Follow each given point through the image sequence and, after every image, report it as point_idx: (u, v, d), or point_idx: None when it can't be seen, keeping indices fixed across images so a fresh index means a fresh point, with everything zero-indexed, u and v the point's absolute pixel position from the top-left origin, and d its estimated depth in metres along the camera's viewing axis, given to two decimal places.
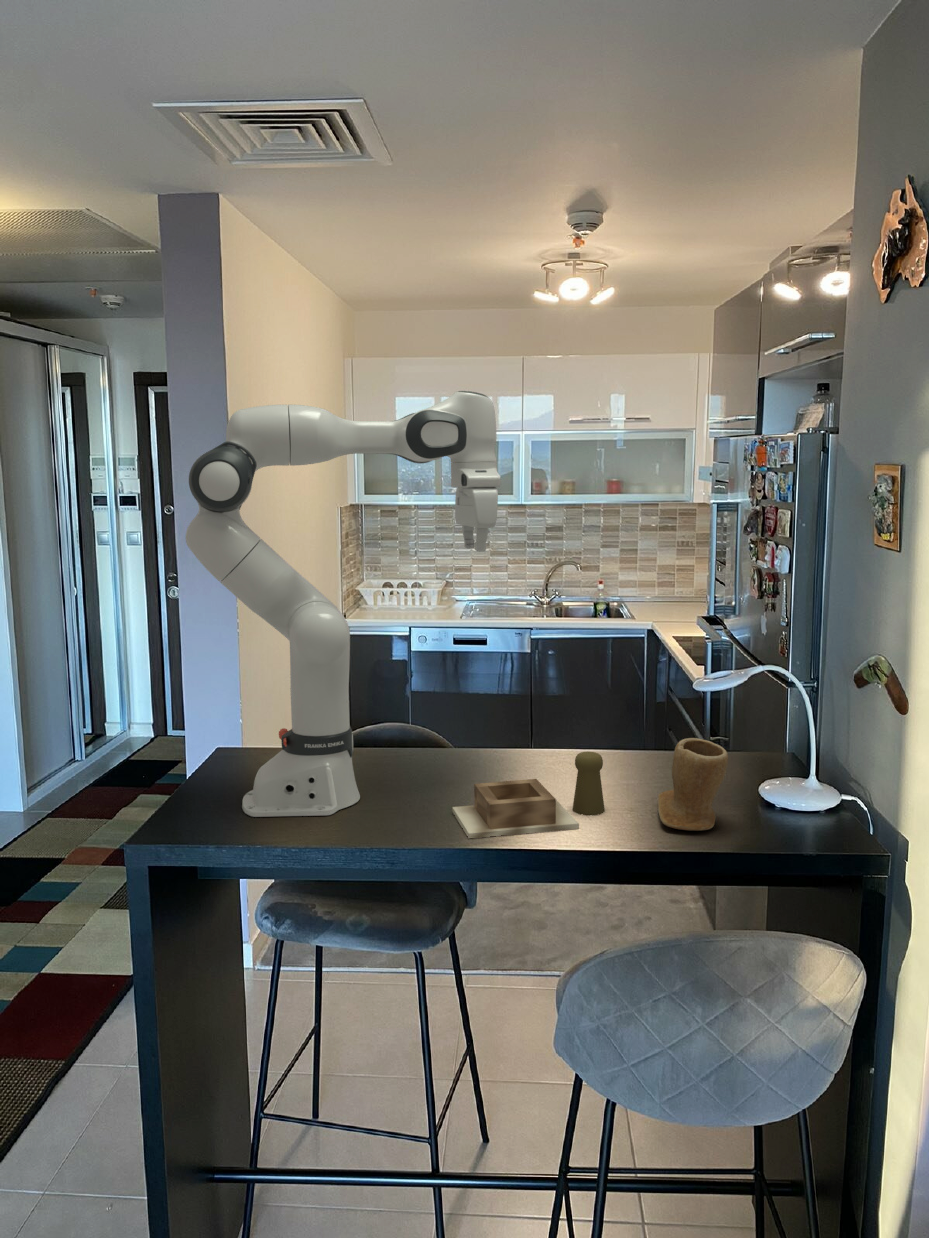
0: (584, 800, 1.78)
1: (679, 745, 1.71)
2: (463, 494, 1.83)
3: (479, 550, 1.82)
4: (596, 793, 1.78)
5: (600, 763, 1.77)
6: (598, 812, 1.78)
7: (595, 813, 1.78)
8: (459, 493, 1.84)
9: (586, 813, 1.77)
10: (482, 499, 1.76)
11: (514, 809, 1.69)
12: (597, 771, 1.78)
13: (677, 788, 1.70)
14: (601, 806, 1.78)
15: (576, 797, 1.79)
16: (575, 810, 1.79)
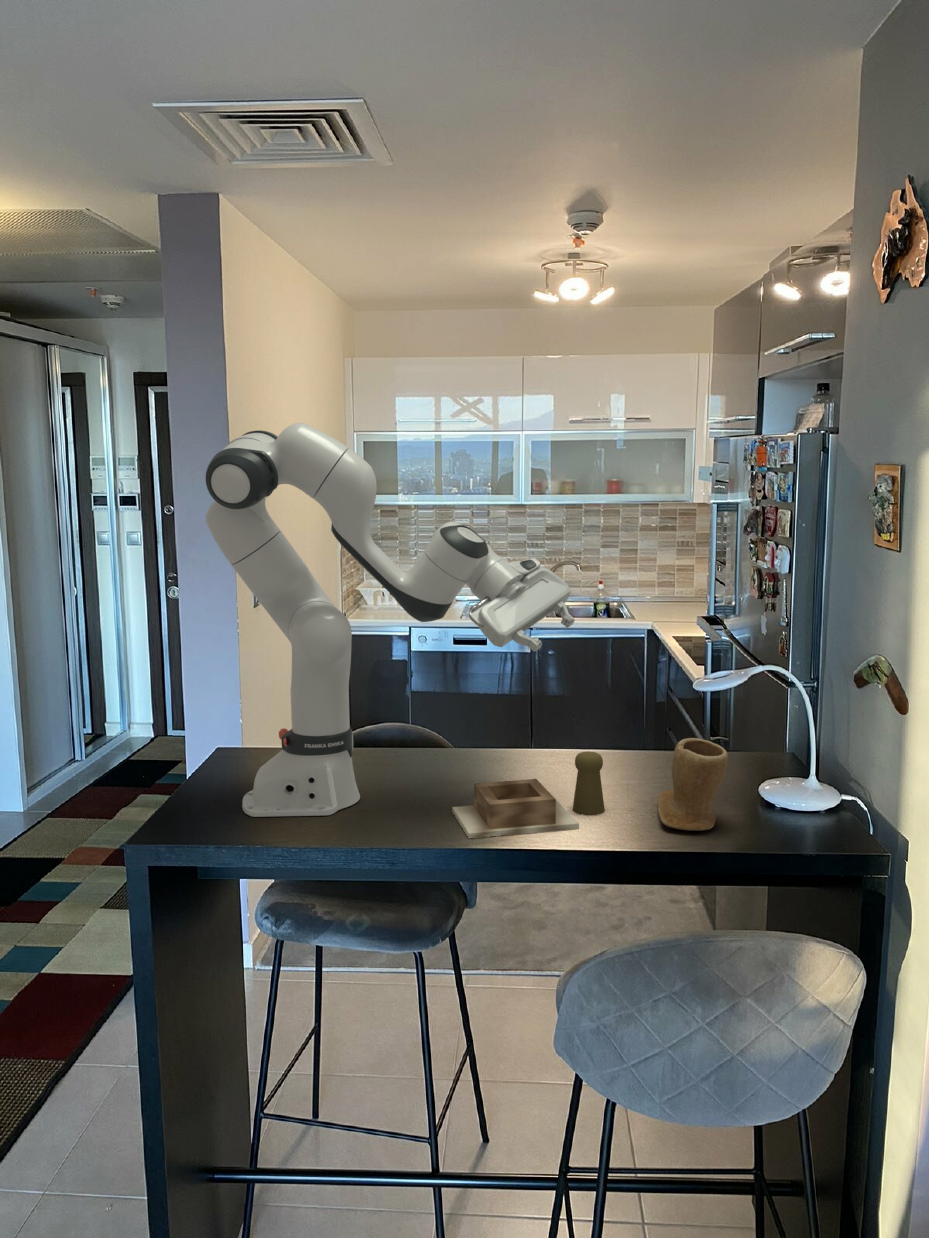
0: (584, 800, 1.78)
1: (679, 745, 1.71)
2: (523, 584, 1.78)
3: None
4: (596, 793, 1.78)
5: (600, 763, 1.77)
6: (598, 812, 1.78)
7: (595, 813, 1.78)
8: (519, 585, 1.77)
9: (586, 813, 1.77)
10: None
11: (514, 809, 1.69)
12: (597, 771, 1.78)
13: (677, 788, 1.70)
14: (601, 806, 1.78)
15: (576, 797, 1.79)
16: (575, 810, 1.79)
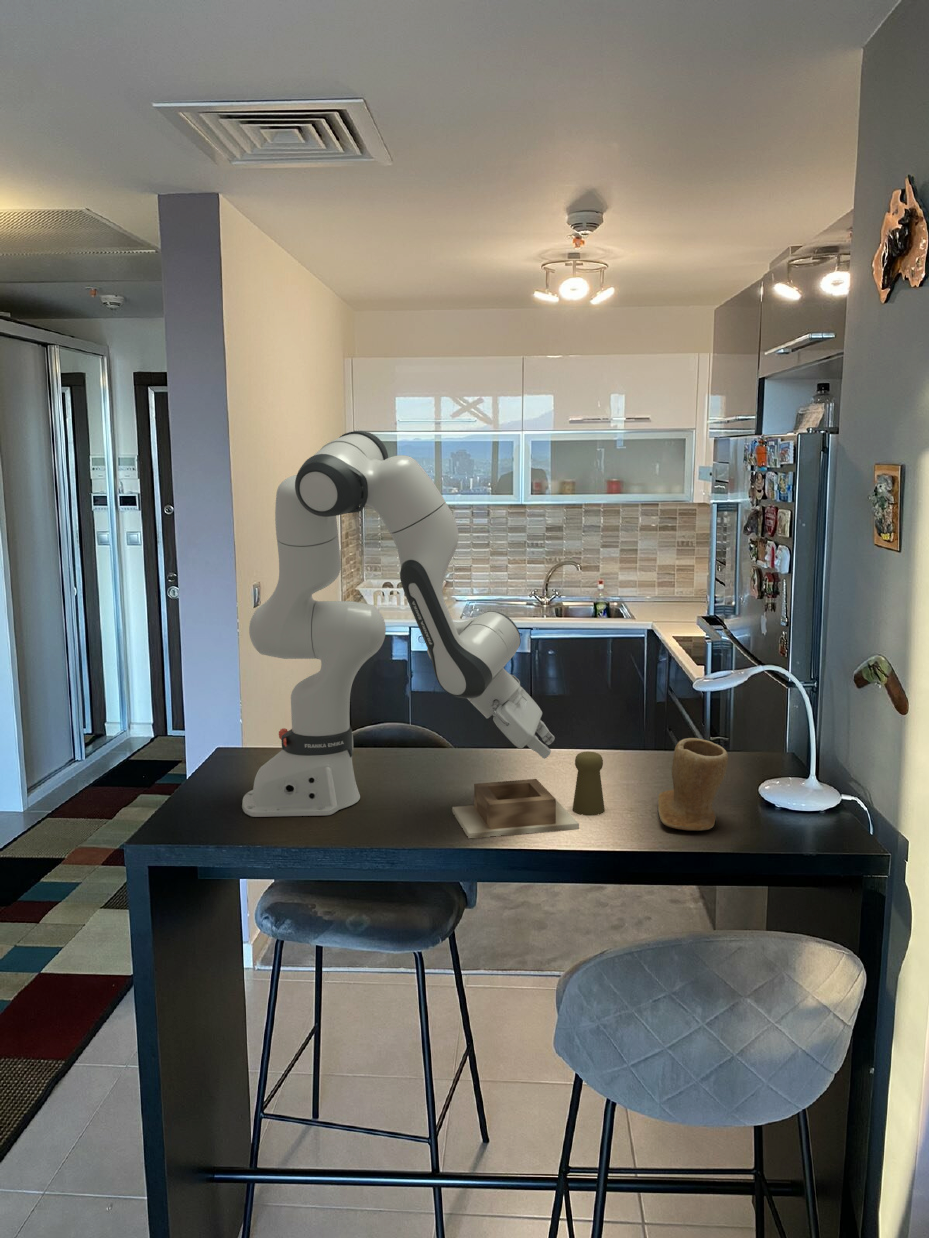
0: (584, 800, 1.78)
1: (679, 745, 1.71)
2: None
3: None
4: (596, 793, 1.78)
5: (600, 763, 1.77)
6: (598, 812, 1.78)
7: (595, 813, 1.78)
8: None
9: (586, 813, 1.77)
10: None
11: (514, 809, 1.69)
12: (597, 771, 1.78)
13: (677, 788, 1.70)
14: (601, 806, 1.78)
15: (576, 797, 1.79)
16: (575, 810, 1.79)
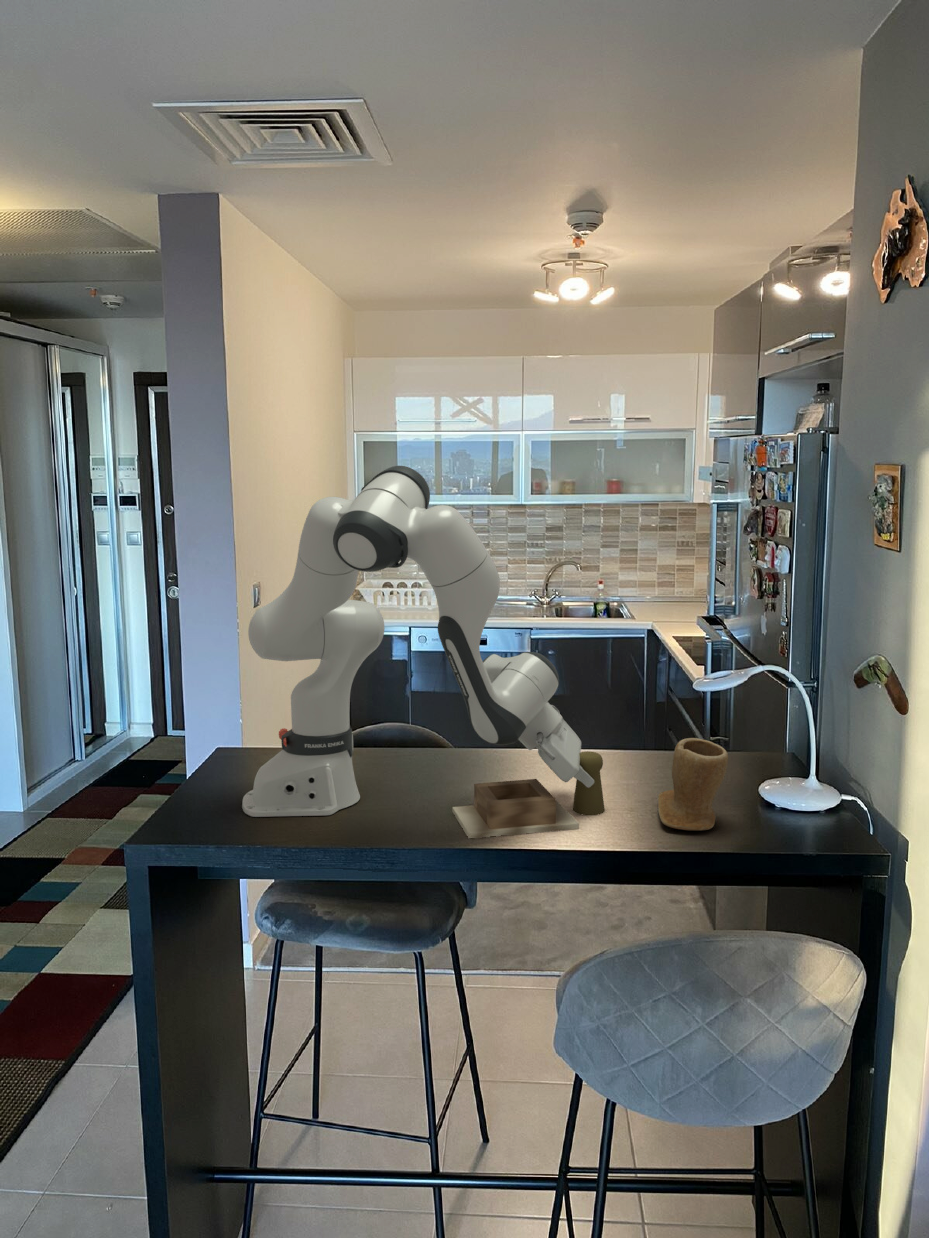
0: (584, 800, 1.78)
1: (679, 745, 1.71)
2: None
3: None
4: (596, 792, 1.78)
5: (600, 763, 1.77)
6: (598, 812, 1.78)
7: (595, 813, 1.78)
8: (562, 726, 1.79)
9: (586, 813, 1.77)
10: None
11: (514, 809, 1.69)
12: (597, 771, 1.78)
13: (677, 788, 1.70)
14: (601, 806, 1.78)
15: (576, 797, 1.79)
16: (575, 810, 1.79)
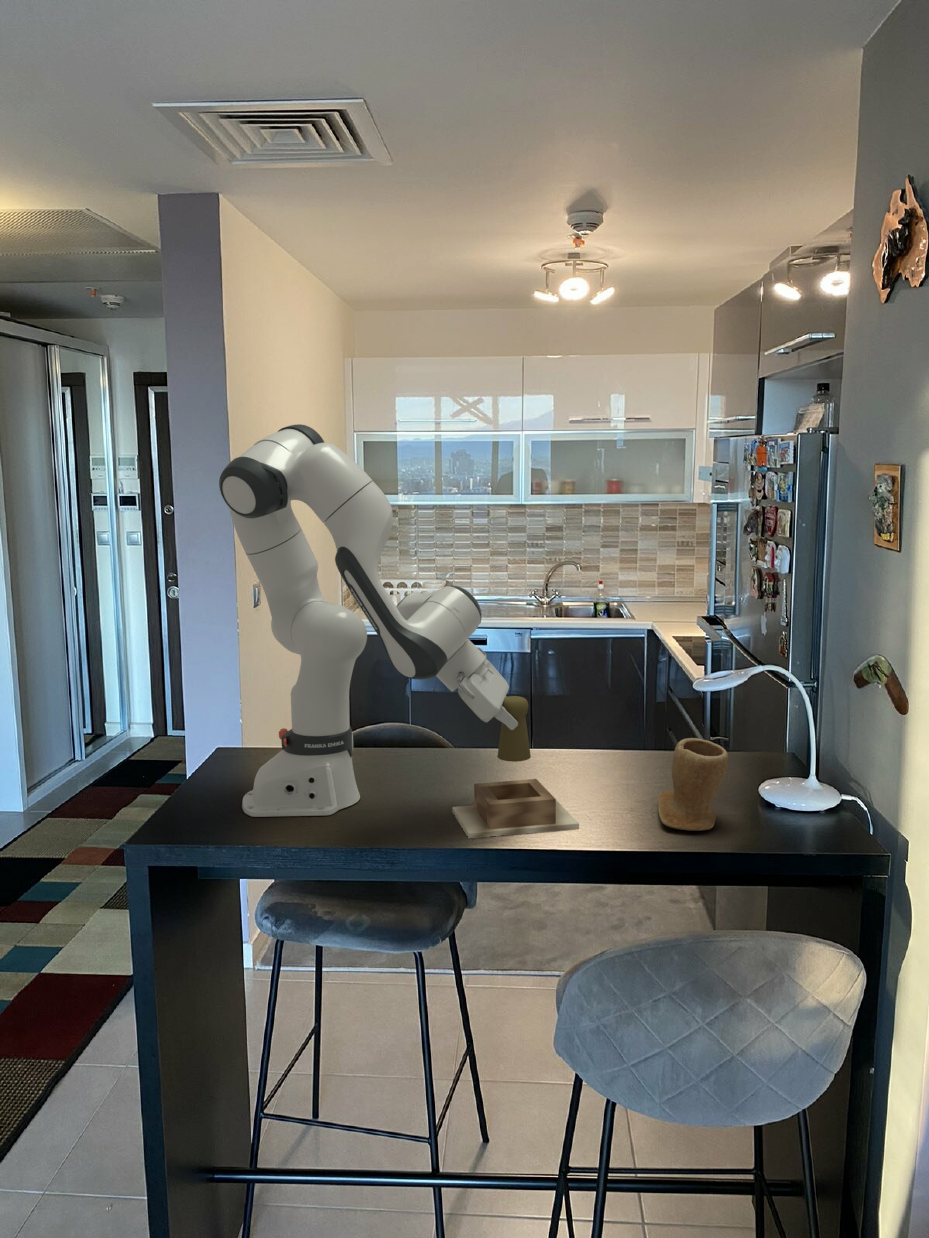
0: (508, 746, 1.71)
1: (679, 745, 1.71)
2: None
3: None
4: (521, 738, 1.71)
5: (525, 707, 1.71)
6: (523, 758, 1.71)
7: (519, 759, 1.71)
8: (486, 667, 1.73)
9: (510, 759, 1.71)
10: None
11: (514, 809, 1.69)
12: (522, 716, 1.71)
13: (677, 788, 1.70)
14: (527, 752, 1.72)
15: (500, 743, 1.72)
16: (499, 756, 1.72)
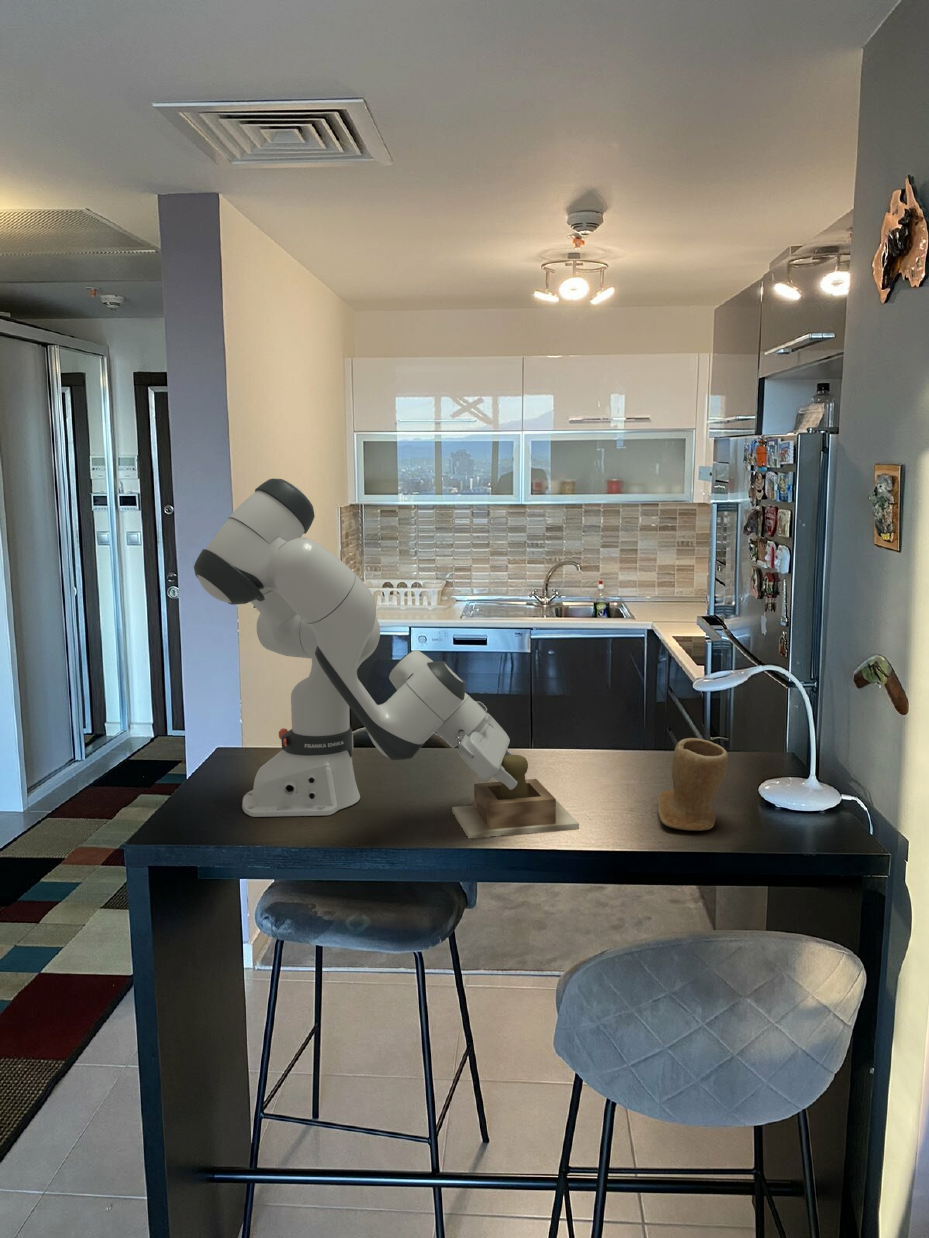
0: None
1: (679, 745, 1.71)
2: None
3: None
4: (520, 797, 1.72)
5: (524, 767, 1.72)
6: None
7: None
8: (486, 723, 1.74)
9: None
10: None
11: (514, 809, 1.69)
12: (521, 775, 1.72)
13: (677, 788, 1.70)
14: None
15: None
16: None
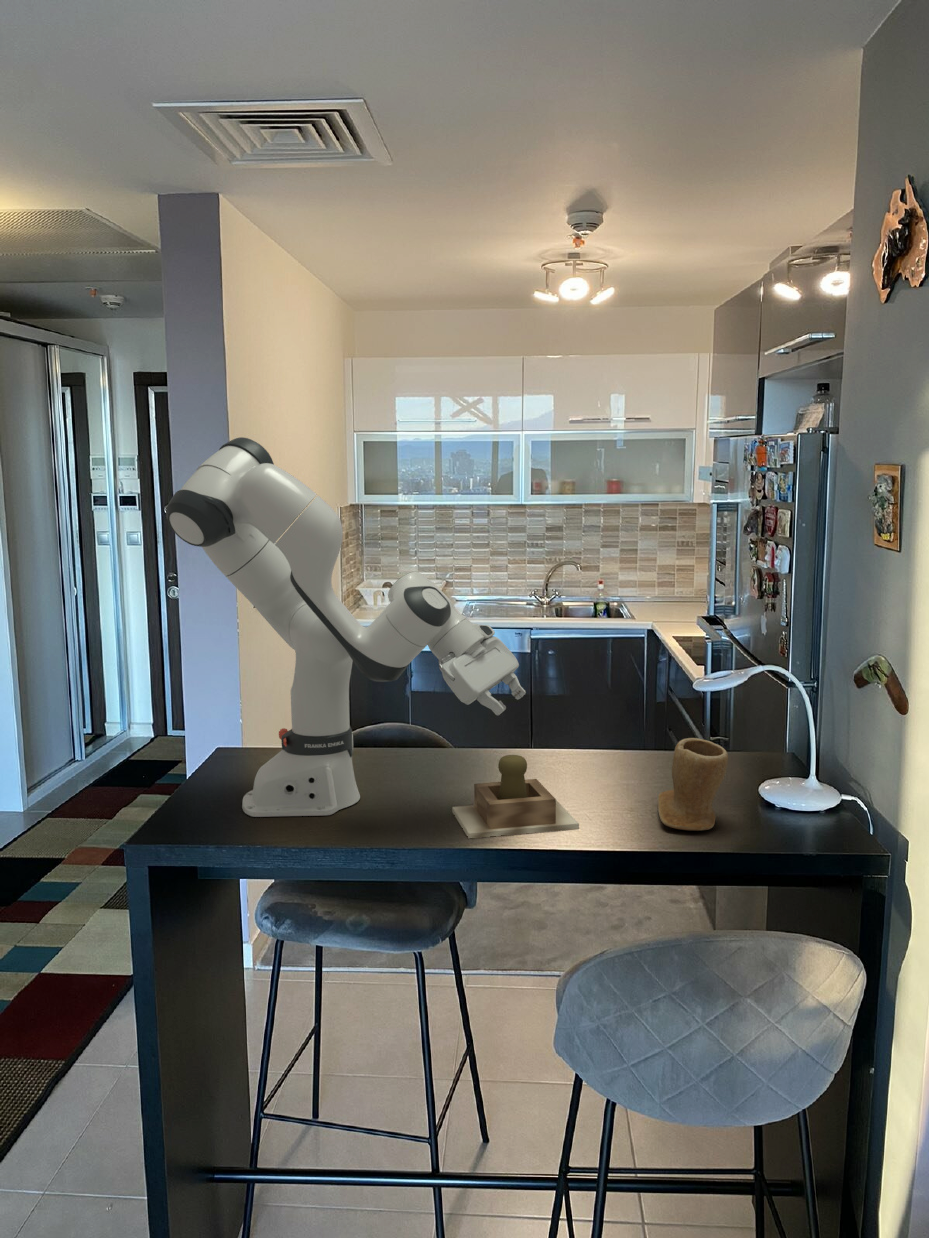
0: None
1: (679, 745, 1.71)
2: (484, 648, 1.73)
3: None
4: (520, 797, 1.72)
5: (523, 767, 1.72)
6: None
7: None
8: (483, 647, 1.72)
9: None
10: None
11: (514, 809, 1.69)
12: (520, 775, 1.72)
13: (677, 788, 1.70)
14: None
15: None
16: None
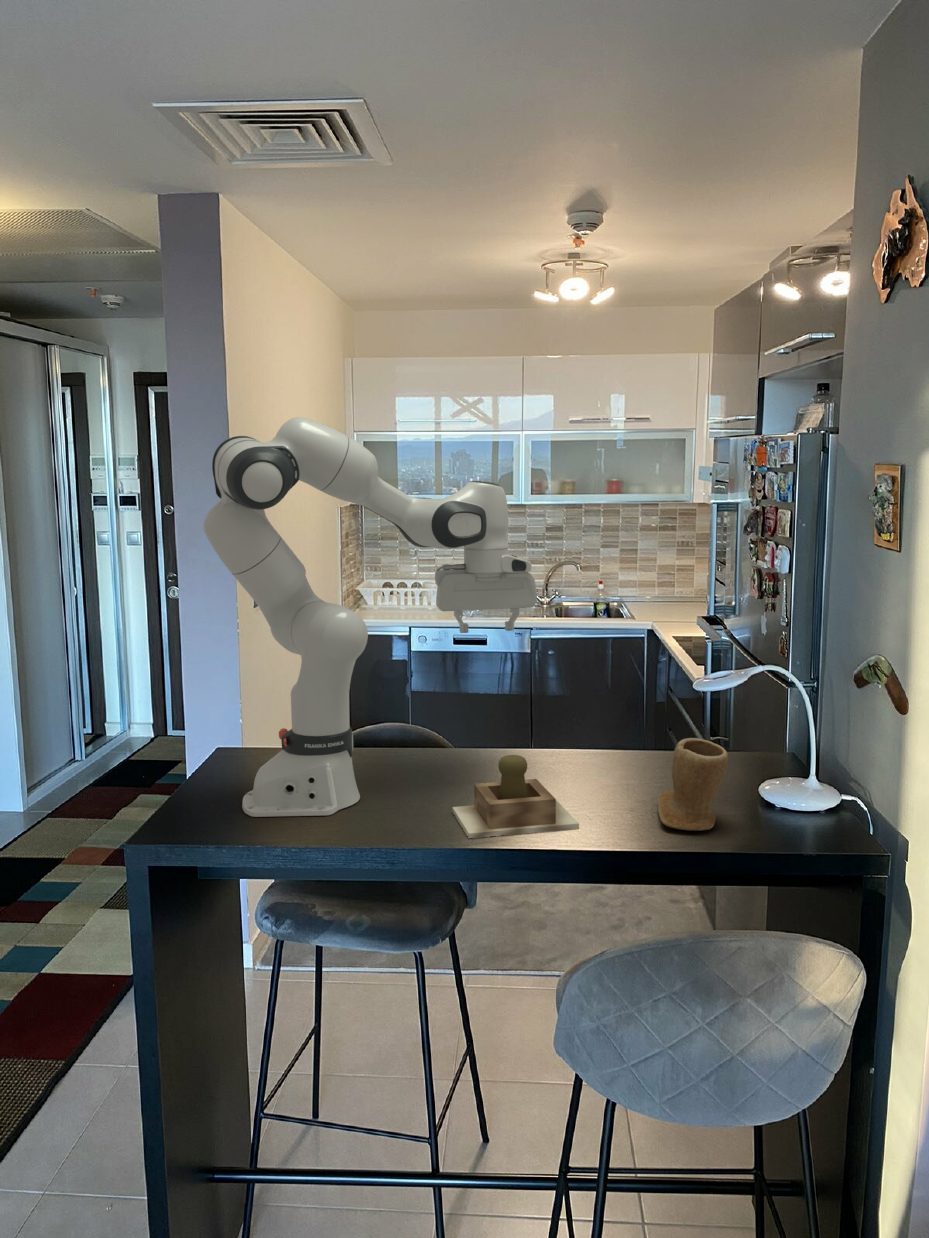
0: None
1: (679, 745, 1.71)
2: (498, 579, 1.91)
3: None
4: (520, 797, 1.72)
5: (523, 767, 1.72)
6: None
7: None
8: (493, 578, 1.90)
9: None
10: None
11: (514, 809, 1.69)
12: (521, 775, 1.72)
13: (677, 788, 1.70)
14: None
15: None
16: None
